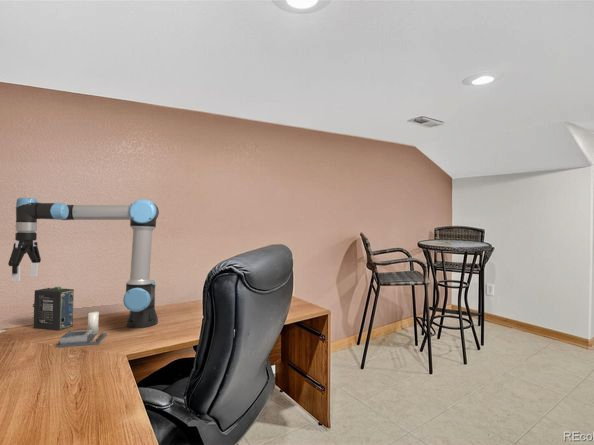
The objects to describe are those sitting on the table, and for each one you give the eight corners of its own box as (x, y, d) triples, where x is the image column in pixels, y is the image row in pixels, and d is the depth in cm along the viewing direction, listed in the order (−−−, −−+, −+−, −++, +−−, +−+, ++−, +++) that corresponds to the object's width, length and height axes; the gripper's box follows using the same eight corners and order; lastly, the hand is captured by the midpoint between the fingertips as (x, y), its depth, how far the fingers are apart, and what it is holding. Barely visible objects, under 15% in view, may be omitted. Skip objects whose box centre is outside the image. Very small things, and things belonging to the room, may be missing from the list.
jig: (106, 335, 159) (106, 327, 159) (98, 344, 146) (99, 336, 146) (67, 337, 154) (67, 330, 154) (56, 347, 142) (56, 339, 142)
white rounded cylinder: (99, 331, 164) (99, 311, 164) (96, 334, 160) (97, 313, 160) (89, 332, 163) (89, 311, 163) (86, 335, 158) (86, 313, 159)
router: (61, 330, 165) (62, 289, 165) (30, 328, 168) (32, 288, 169) (75, 326, 172) (76, 287, 173) (45, 323, 176) (46, 285, 176)
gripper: (32, 231, 165) (31, 275, 164) (-2, 232, 140) (-3, 283, 140) (49, 231, 166) (49, 274, 166) (18, 232, 142) (17, 283, 141)
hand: (25, 278), depth 153 cm, fingers open, 13 cm apart
